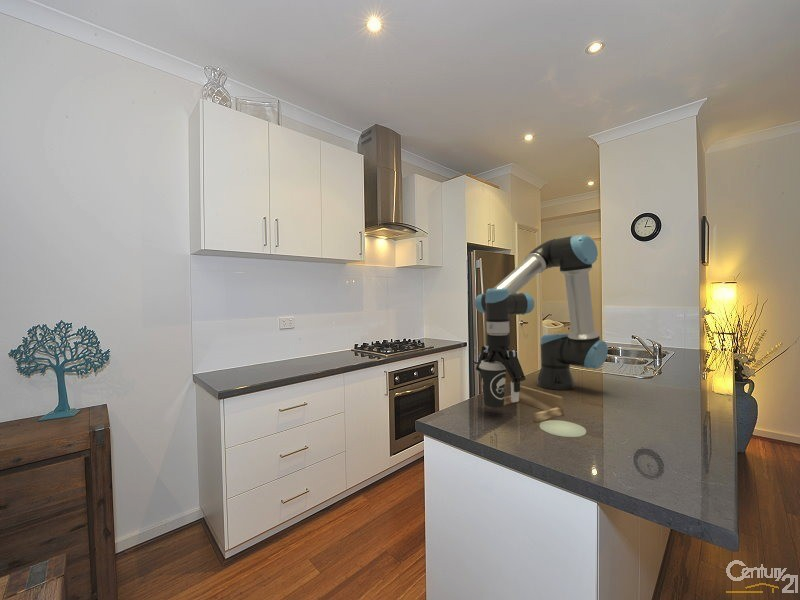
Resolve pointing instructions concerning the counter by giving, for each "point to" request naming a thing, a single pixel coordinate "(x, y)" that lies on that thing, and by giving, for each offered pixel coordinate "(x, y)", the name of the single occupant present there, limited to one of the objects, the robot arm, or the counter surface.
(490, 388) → the coffee cup
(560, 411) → the shelf bay
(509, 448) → the counter surface
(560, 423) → the coaster
